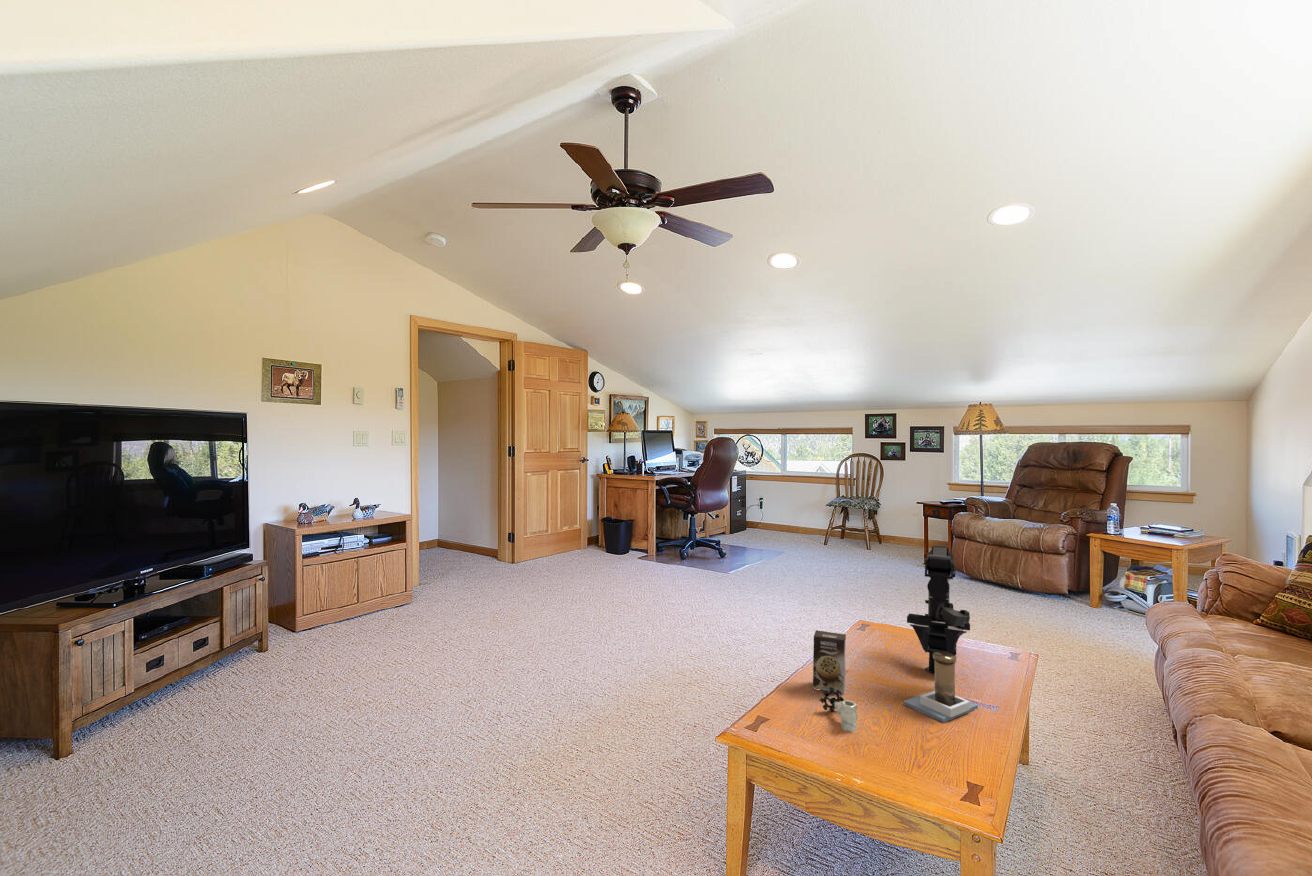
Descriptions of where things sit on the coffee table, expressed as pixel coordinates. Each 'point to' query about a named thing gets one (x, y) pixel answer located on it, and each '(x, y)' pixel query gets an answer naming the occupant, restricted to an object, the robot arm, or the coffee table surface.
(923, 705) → the collar plate
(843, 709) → the valve
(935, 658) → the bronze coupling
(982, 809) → the coffee table surface
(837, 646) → the cookie box
